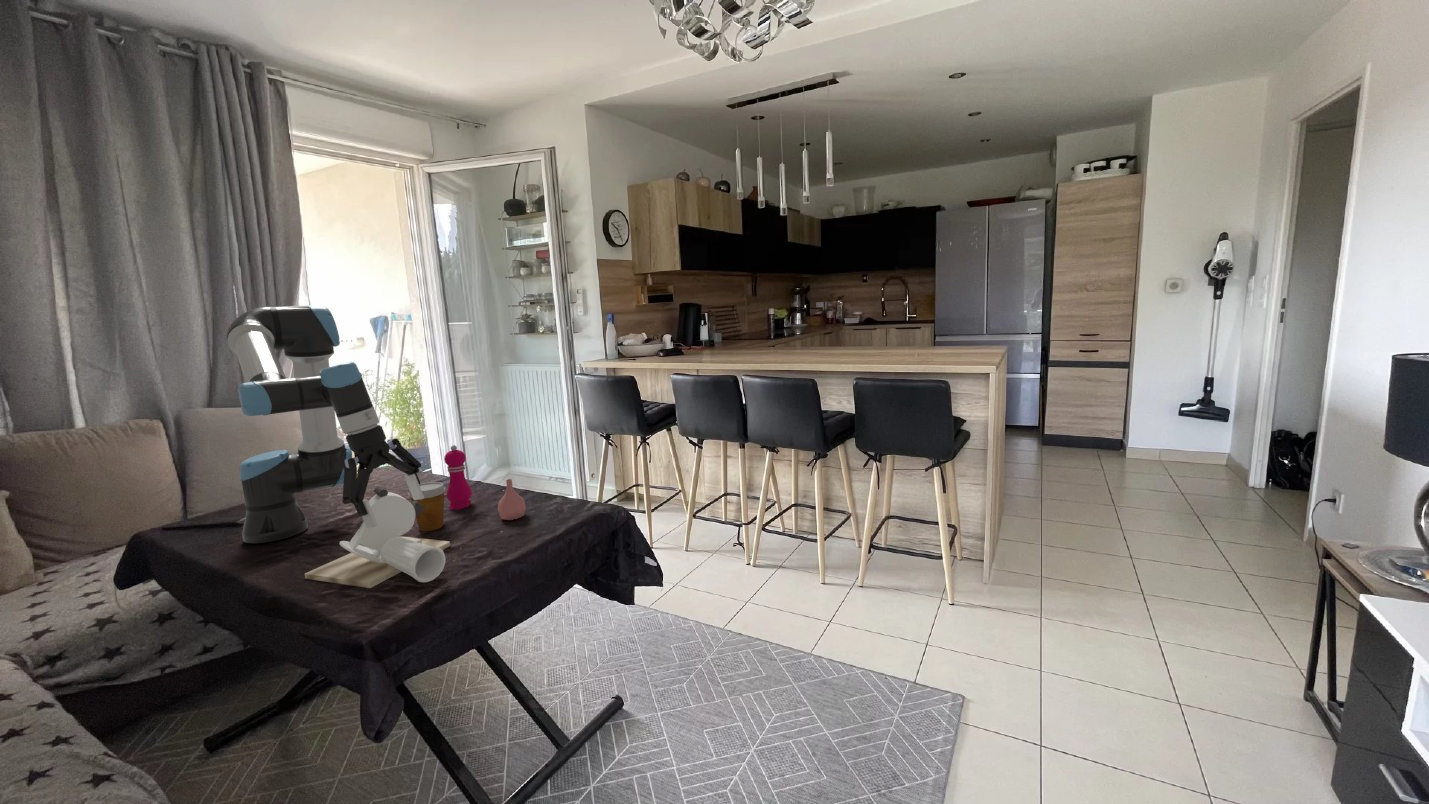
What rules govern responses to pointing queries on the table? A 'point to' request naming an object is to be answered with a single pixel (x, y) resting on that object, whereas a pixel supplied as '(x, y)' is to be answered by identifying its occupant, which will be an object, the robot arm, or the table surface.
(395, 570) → the board
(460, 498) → the pepper mill
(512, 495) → the pink bulbous piece
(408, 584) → the table surface
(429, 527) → the disposable coffee cup
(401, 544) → the cup
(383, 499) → the panda figurine
